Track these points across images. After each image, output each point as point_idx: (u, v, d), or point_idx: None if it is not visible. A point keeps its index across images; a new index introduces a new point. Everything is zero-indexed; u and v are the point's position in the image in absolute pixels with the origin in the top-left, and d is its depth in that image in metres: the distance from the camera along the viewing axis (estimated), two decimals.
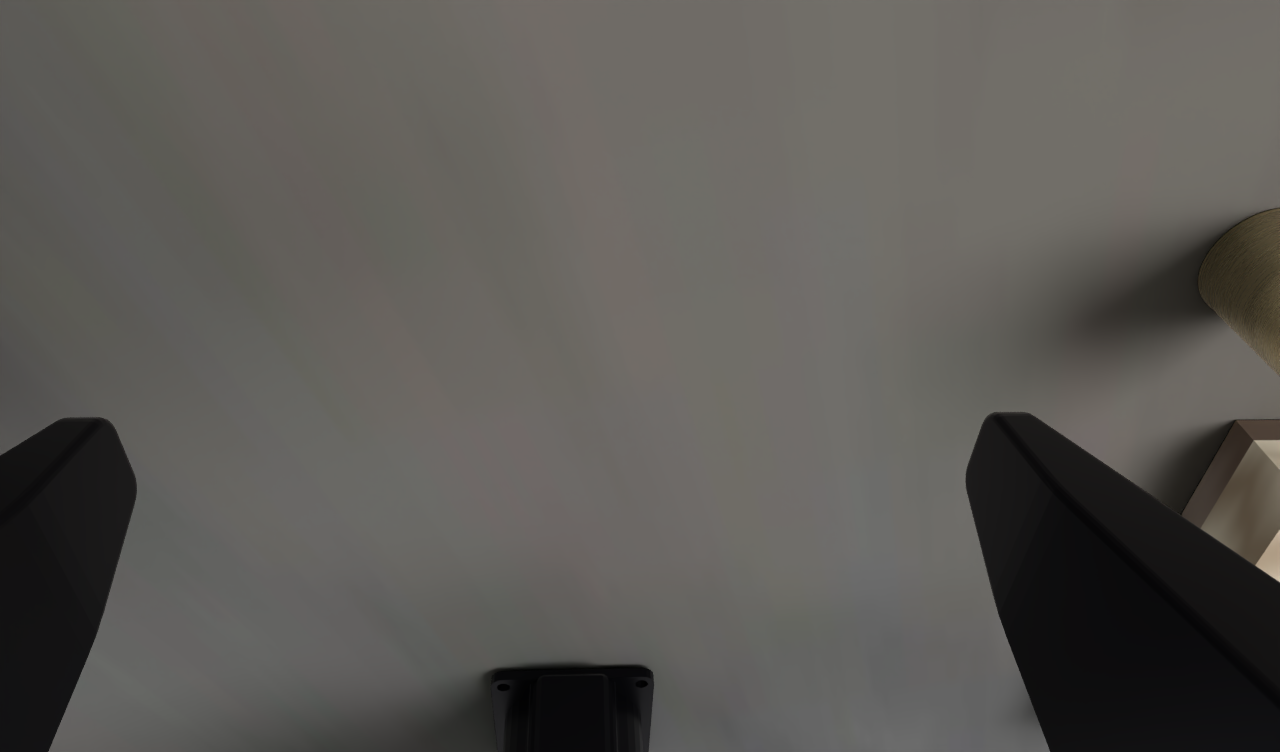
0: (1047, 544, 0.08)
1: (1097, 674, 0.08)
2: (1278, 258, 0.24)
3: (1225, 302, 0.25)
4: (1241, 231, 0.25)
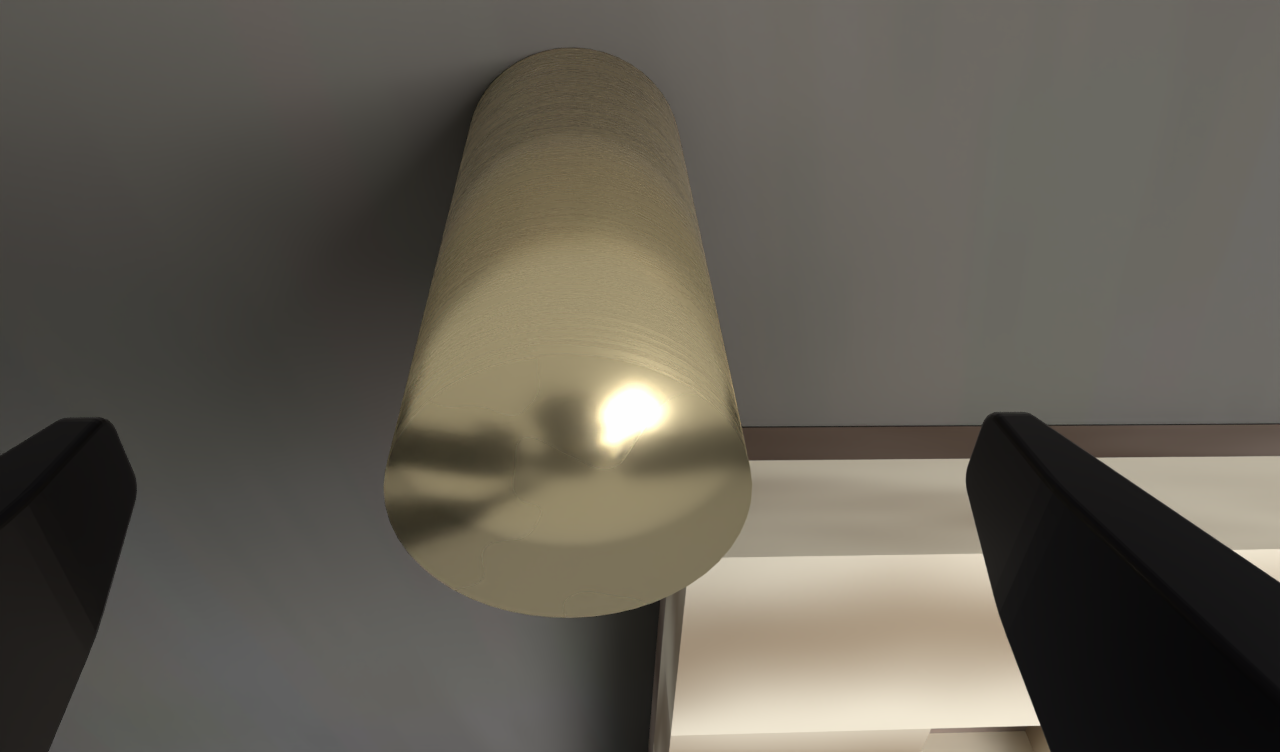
0: (1047, 544, 0.08)
1: (1097, 674, 0.08)
2: (483, 128, 0.13)
3: None
4: (489, 91, 0.14)
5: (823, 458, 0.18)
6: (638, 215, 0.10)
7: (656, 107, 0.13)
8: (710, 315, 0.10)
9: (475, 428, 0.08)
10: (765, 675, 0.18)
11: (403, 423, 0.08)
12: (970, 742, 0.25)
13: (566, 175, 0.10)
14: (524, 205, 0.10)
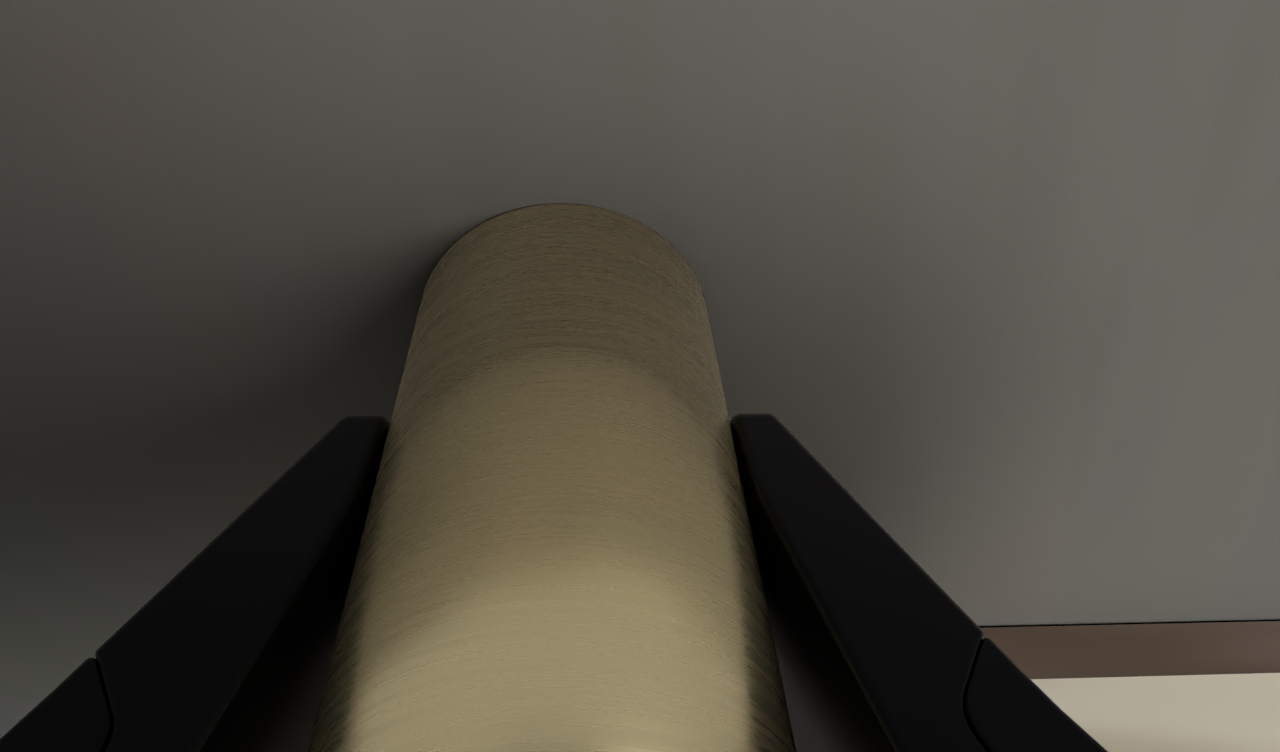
0: (756, 548, 0.08)
1: (786, 682, 0.08)
2: (429, 343, 0.09)
3: None
4: (444, 264, 0.10)
5: None
6: (663, 580, 0.06)
7: (679, 295, 0.10)
8: None
9: None
10: None
11: None
12: None
13: (546, 495, 0.06)
14: (473, 569, 0.06)
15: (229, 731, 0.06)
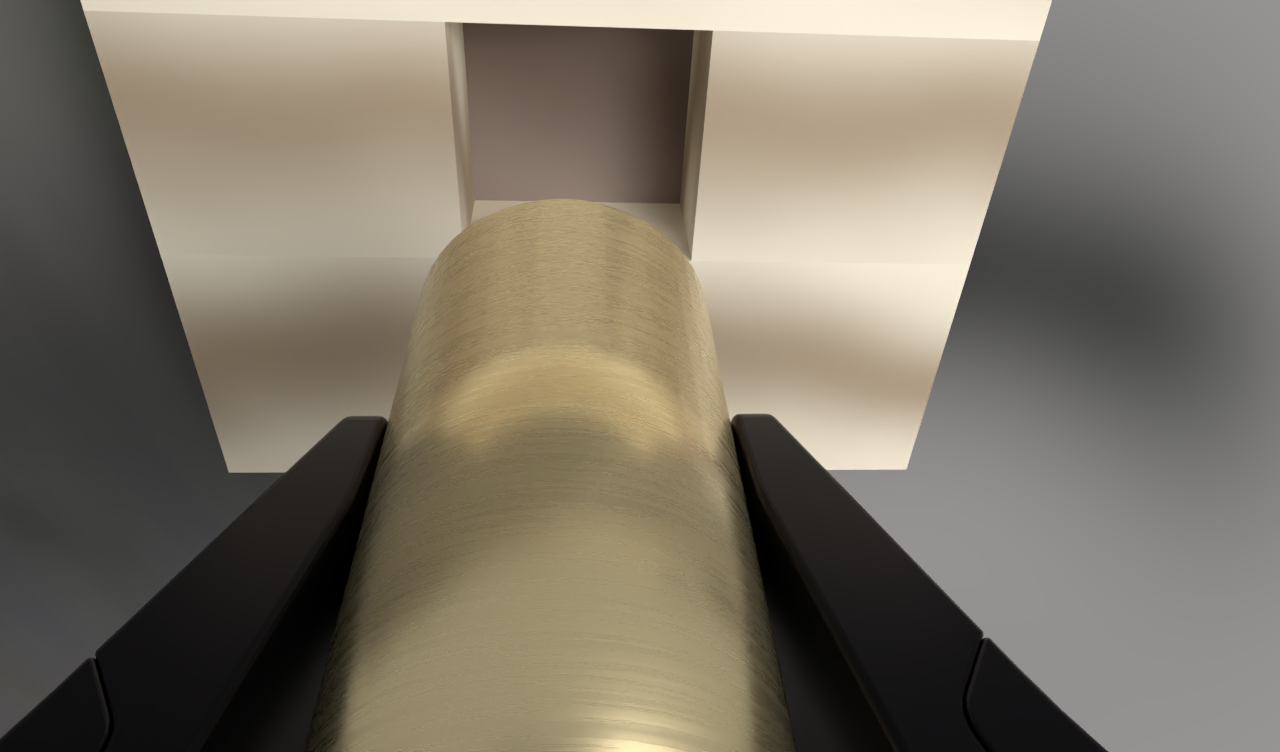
0: (756, 549, 0.08)
1: (786, 682, 0.08)
2: (428, 338, 0.09)
3: None
4: (443, 259, 0.10)
5: None
6: (663, 573, 0.06)
7: (678, 291, 0.09)
8: None
9: None
10: None
11: None
12: None
13: (545, 490, 0.06)
14: (470, 564, 0.06)
15: (229, 731, 0.06)
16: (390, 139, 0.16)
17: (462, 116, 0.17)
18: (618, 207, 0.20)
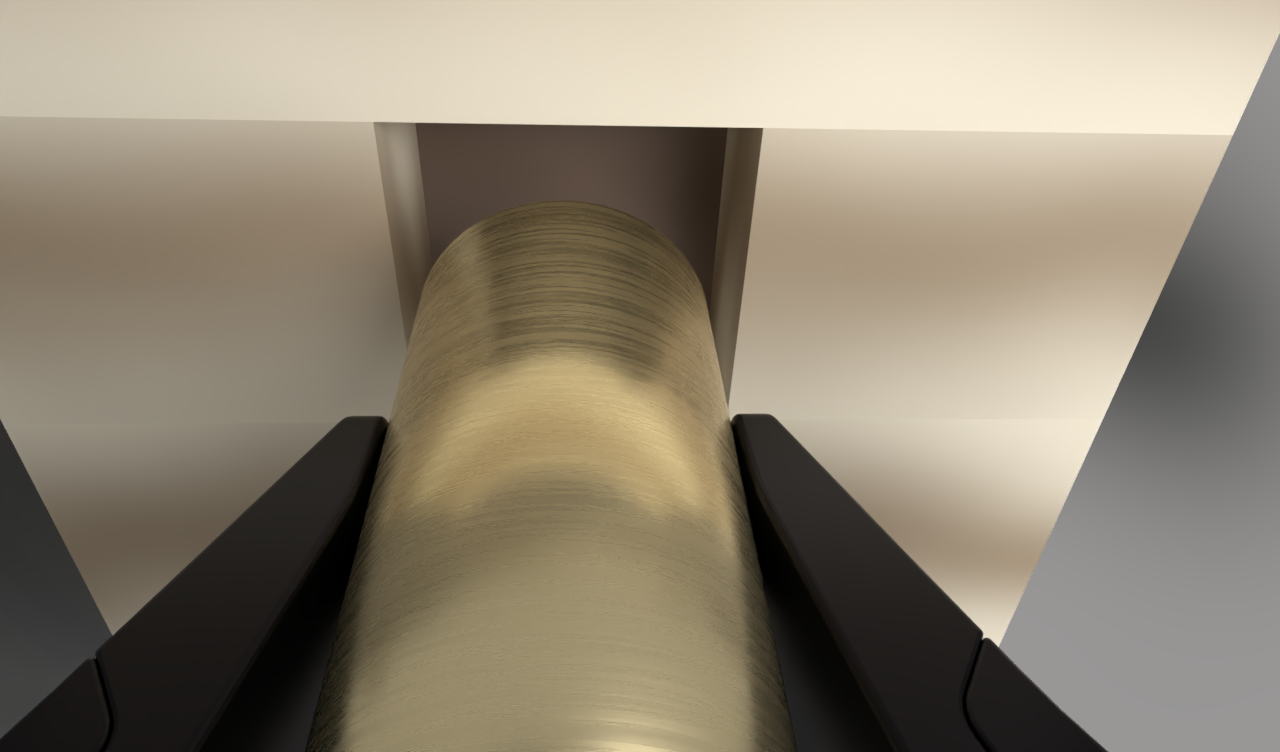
0: None
1: (786, 682, 0.08)
2: (428, 339, 0.09)
3: None
4: (443, 260, 0.10)
5: None
6: (663, 576, 0.06)
7: (679, 292, 0.09)
8: None
9: None
10: None
11: None
12: None
13: (546, 491, 0.06)
14: (472, 566, 0.06)
15: (229, 731, 0.06)
16: (306, 277, 0.12)
17: (414, 231, 0.13)
18: None
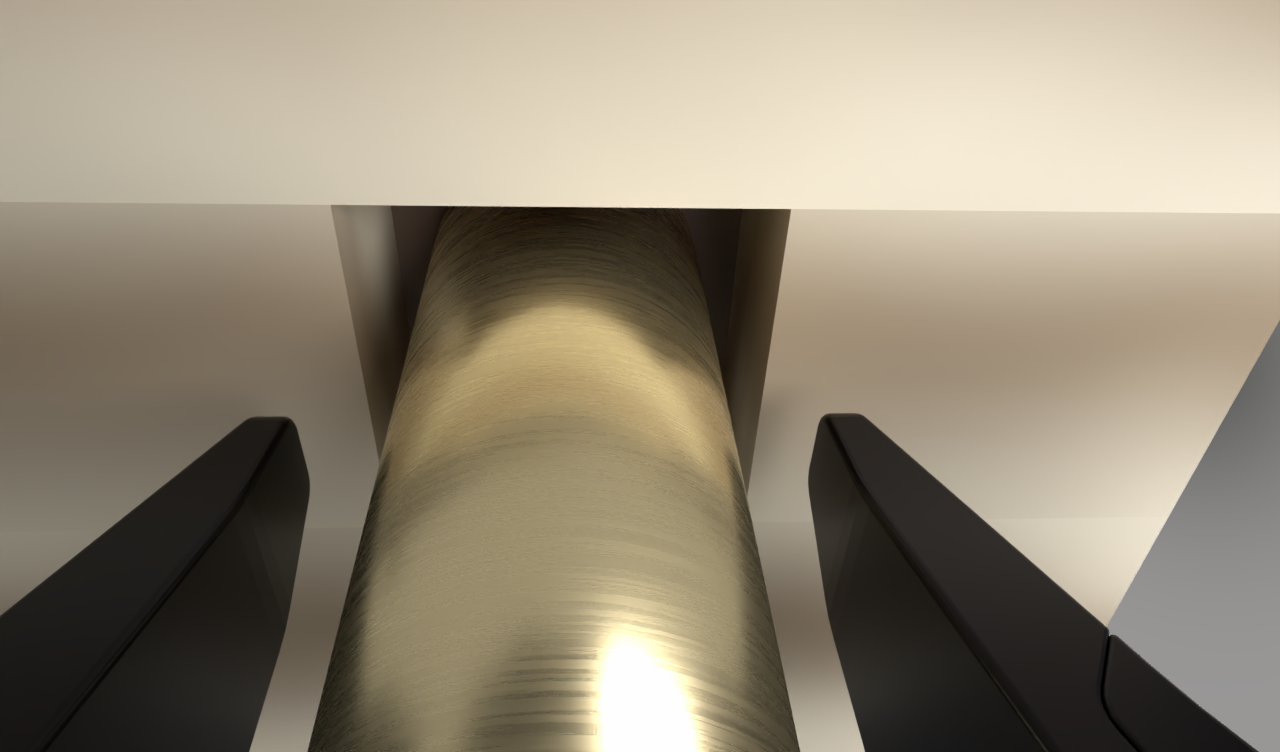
0: (857, 547, 0.08)
1: (895, 679, 0.08)
2: (446, 262, 0.10)
3: None
4: None
5: None
6: (652, 431, 0.07)
7: (668, 225, 0.11)
8: (754, 581, 0.07)
9: None
10: None
11: None
12: None
13: (552, 366, 0.08)
14: (490, 420, 0.07)
15: (78, 736, 0.06)
16: (257, 375, 0.10)
17: (386, 311, 0.11)
18: None
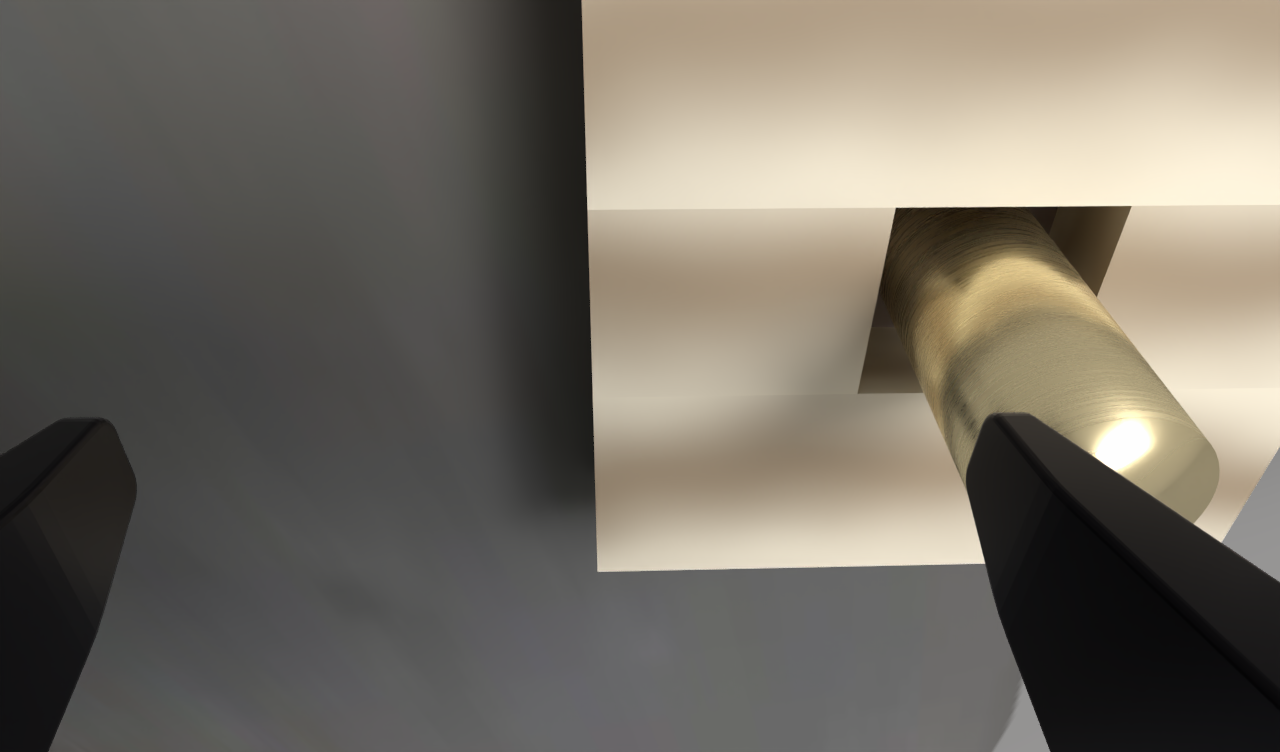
0: (1047, 544, 0.08)
1: (1097, 674, 0.08)
2: (925, 237, 0.18)
3: (883, 295, 0.19)
4: None
5: None
6: (1101, 314, 0.15)
7: None
8: None
9: None
10: (689, 96, 0.15)
11: None
12: None
13: (1042, 285, 0.16)
14: (1028, 309, 0.15)
15: None
16: (820, 301, 0.18)
17: None
18: None
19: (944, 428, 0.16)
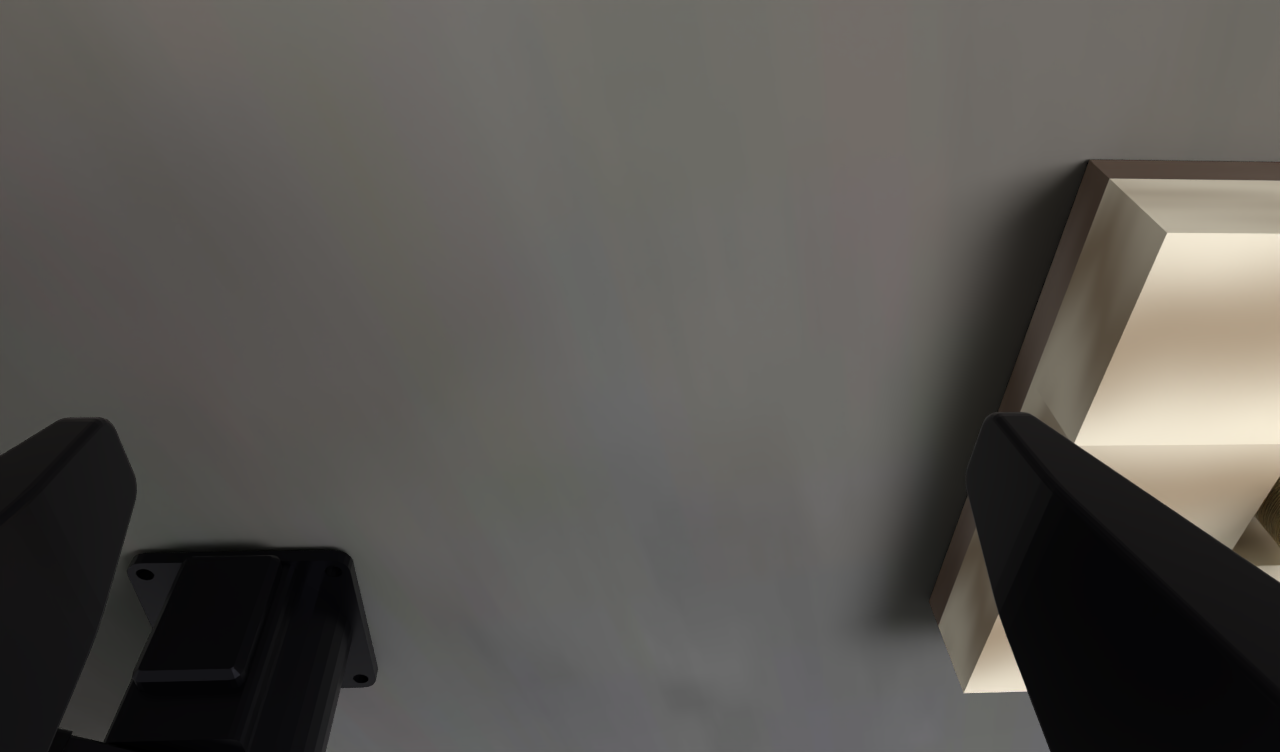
0: (1047, 544, 0.08)
1: (1097, 674, 0.08)
2: None
3: None
4: None
5: (1234, 179, 0.20)
6: None
7: None
8: None
9: None
10: (1180, 375, 0.21)
11: None
12: None
13: None
14: None
15: None
16: (1219, 504, 0.23)
17: None
18: None
19: None
